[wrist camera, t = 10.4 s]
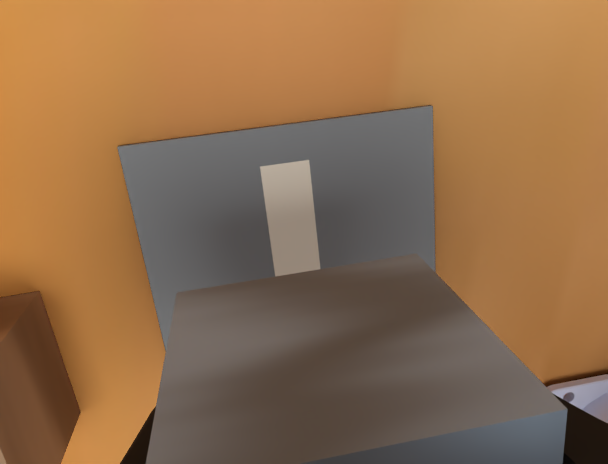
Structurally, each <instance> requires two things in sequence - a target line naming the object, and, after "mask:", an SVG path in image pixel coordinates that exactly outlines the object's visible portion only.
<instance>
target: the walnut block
mask: <svg viewBox="0 0 608 464" xmlns="http://www.w3.org/2000/svg"><path fill="white" fill-rule="evenodd" d="M79 415H80V409H79V406H78V403H77V400H76V397H75V394H74V391H73V388H72V385H71V383H70V380H69V377H68V374H67V371H66V368H65V365H64V362H63V359H62V356H61V353H60V350H59V347H58V344H57V341H56V338H55V335H54V332H53V330H52V327H51V324H50V321H49V318H48V315H47V312H46V309H45V306H44V303H43V300H42V297H41V294H40V291H36V292H30V293H24V294H18V295H12V296H6V297H0V464H61V462H62V459H63V456H64V454H65V451H66V449H67V446H68V443H69V441H70V438H71V436H72V433H73V431H74V428H75V425H76V423H77V420H78V418H79Z"/></svg>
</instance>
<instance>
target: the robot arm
mask: <svg viewBox="0 0 608 464" xmlns="http://www.w3.org/2000/svg"><path fill="white" fill-rule="evenodd" d="M547 388H548V389H549V390H550V391H551V393H552V394H553V395H554V396H555V397H556V398H557V399H558V400H559V401H560V402H561V403H562V404H563V405H564V406H565V407H566V408H567V409H568V410H567V421H566V432H565V443H564V454H563V464H608V374H605V375H600V376H595V377H590V378H584V379H579V380H574V381H569V382H564V383H559V384H553V385H550V386H548V387H547ZM566 393H567V394H566ZM565 394H566V395H565ZM564 395H565V396H564ZM155 410H156V407H155V408H154V409H153V411H152V412H151V413H150V415H149V417H148V418H147V420H146V422H145V424H144V425H143V427H142V429H141V430H140V432H139V434H138V435H137V437H136V439H135V440H134V442H133V443H132V445H131V447H130V448H129V450H128V452H127V453H126V455H125V456H124V458H123V460H122V461H121V463H120V464H146V459H147V454H148V448H149V443H150V437H151V432H152V426H153V421H154V415H155Z"/></svg>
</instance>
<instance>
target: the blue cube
mask: <svg viewBox="0 0 608 464" xmlns="http://www.w3.org/2000/svg"><path fill="white" fill-rule="evenodd" d="M567 410H568V409H567V408H566V407H565V406H564V405H563V404H562V403H561V402H560V401H559V400H558V399H557V398H556V397H555V396H554V395H553V394H552V393H551V391H550V390H549V389H548V388H547V387H546V386H545V385H544V384H543V383H542V382H541V381H540V380H539V379H538V378H537V377H536V376H535V375H534V374H533V373H532V372H531V371H530V370H529V369H528V368H527V367H526V366H525V365H524V364H523V363H522V362H521V361H520V359H519V358H518V357H517V356H516V355H515V354H514V353H513V352H512V351H511V350H510V349H509V348H508V347H507V346H506V345H505V344H504V343H503V342H502V341H501V340H500V339H499V338H498V337H497V336H496V335H495V334H494V333H493V332H492V331H491V330H490V329H489V327H488V326H487V325H486V324H485V323H484V322H483V321H482V320H481V319H480V318H479V317H478V316H477V315H476V314H475V313H474V312H473V311H472V310H471V309H470V308H469V307H468V306H467V305H466V304H465V303H464V302H463V301H462V300H461V299H460V298H459V296H458V295H457V294H456V293H455V292H454V291H453V290H452V289H451V288H450V287H449V286H448V285H447V284H446V283H445V282H444V281H443V280H442V279H441V278H440V277H439V276H438V275H437V274H436V273H435V272H434V271H433V270H432V269H431V268H430V267H429V266H428V264H427V263H426V262H425V261H424V260H423V259H422V258H421V257H420V256H419V255H418V254H410V255H404V256H398V257H392V258H386V259H380V260H374V261H367V262H361V263H355V264H349V265H343V266H337V267H331V268H324V269H318V270H312V271H306V272H300V273H294V274H288V275H281V276H275V277H269V278H263V279H257V280H251V281H245V282H238V283H232V284H226V285H220V286H214V287H208V288H202V289H195V290H189V291H183V292H177V294H176V299H175V305H174V310H173V316H172V321H171V327H170V332H169V338H168V343H167V349H166V354H165V360H164V366H163V371H162V377H161V382H160V388H159V393H158V399H157V404H156V410H155V415H154V421H153V426H152V432H151V437H150V443H149V448H148V454H147V459H146V464H563V454H564V443H565V432H566V421H567Z"/></svg>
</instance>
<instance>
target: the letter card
mask: <svg viewBox="0 0 608 464" xmlns="http://www.w3.org/2000/svg"><path fill="white" fill-rule="evenodd" d="M117 148H118V152H119V156H120V160H121V165H122V169H123V173H124V177H125V181H126V186H127V190H128V194H129V198H130V203H131V207H132V211H133V215H134V219H135V224H136V228H137V232H138V236H139V241H140V245H141V249H142V253H143V257H144V262H145V266H146V270H147V274H148V279H149V283H150V287H151V291H152V295H153V300H154V304H155V308H156V312H157V317H158V321H159V325H160V329H161V333H162V338H163V342H164V346H165V350H166V349H167V343H168V338H169V332H170V327H171V321H172V316H173V310H174V305H175V299H176V294H177V292H183V291H189V290H195V289H202V288H208V287H214V286H220V285H226V284H232V283H238V282H245V281H251V280H257V279H263V278H269V277H275V276H281V275H288V274H294V273H300V272H306V271H312V270H318V269H324V268H331V267H337V266H343V265H349V264H355V263H361V262H367V261H374V260H380V259H386V258H392V257H398V256H404V255H410V254H418V255H419V256H420V257H421V258H422V259H423V260H424V261H425V262H426V263H427V264H428V266H429V267H430V268H431V269H432V270H433V271H434V272H435V218H434V158H433V106H431V105H428V106H420V107H413V108H405V109H397V110H390V111H382V112H374V113H367V114H359V115H351V116H344V117H336V118H328V119H321V120H313V121H305V122H298V123H290V124H282V125H275V126H267V127H259V128H252V129H244V130H236V131H229V132H221V133H213V134H206V135H198V136H190V137H183V138H175V139H167V140H160V141H152V142H144V143H137V144H129V145H121V146H118V147H117Z"/></svg>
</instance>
